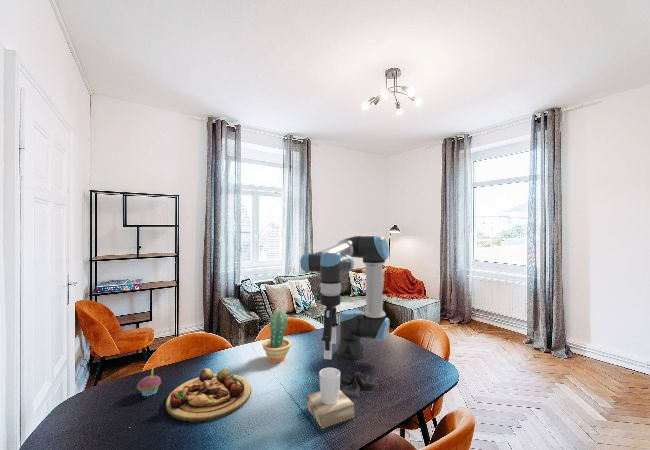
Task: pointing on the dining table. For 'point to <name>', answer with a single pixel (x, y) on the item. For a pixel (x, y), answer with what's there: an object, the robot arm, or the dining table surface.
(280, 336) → the potted cactus
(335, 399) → the white cup
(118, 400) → the dining table surface
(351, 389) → the cloth
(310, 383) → the dining table surface
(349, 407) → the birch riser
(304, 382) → the dining table surface
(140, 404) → the dining table surface
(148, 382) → the cupcake
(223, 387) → the wooden plate with food
